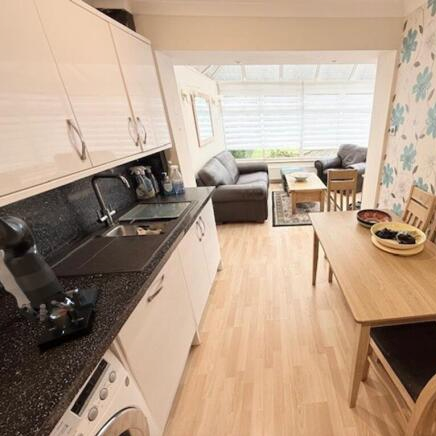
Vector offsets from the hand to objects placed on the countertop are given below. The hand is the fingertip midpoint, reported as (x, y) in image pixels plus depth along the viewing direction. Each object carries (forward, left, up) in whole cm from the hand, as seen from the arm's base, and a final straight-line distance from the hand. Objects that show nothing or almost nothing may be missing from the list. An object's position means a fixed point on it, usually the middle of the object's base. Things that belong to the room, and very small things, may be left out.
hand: (65, 322), depth 77 cm
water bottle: (-15, +22, -4) cm, 27 cm away
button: (-1, +14, 0) cm, 14 cm away
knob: (0, 0, -1) cm, 1 cm away
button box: (-1, +14, -4) cm, 15 cm away
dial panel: (0, 0, -4) cm, 4 cm away
